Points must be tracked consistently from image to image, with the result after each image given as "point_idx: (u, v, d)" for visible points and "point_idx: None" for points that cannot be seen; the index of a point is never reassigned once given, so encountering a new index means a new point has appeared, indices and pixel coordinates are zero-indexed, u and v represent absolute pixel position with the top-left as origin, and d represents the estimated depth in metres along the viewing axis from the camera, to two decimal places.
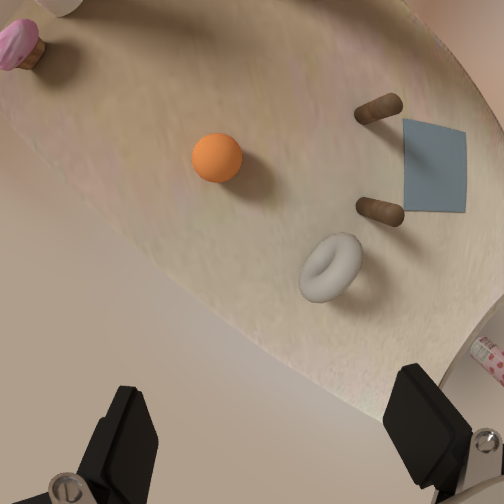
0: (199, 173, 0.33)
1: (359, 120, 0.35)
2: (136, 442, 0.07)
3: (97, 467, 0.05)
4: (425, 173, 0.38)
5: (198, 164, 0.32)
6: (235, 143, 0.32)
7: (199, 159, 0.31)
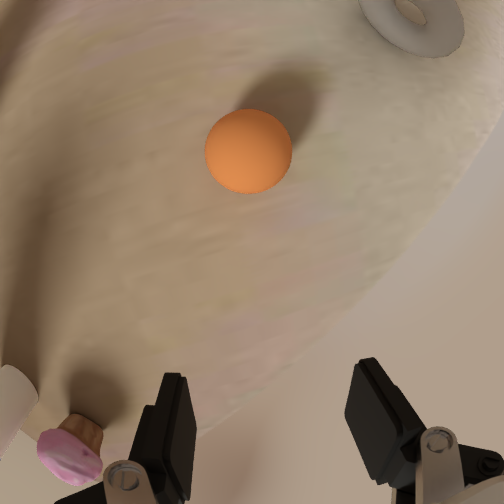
0: (277, 179, 0.19)
1: None
2: (184, 426, 0.08)
3: (155, 451, 0.06)
4: None
5: (262, 180, 0.18)
6: (225, 117, 0.18)
7: (253, 177, 0.18)
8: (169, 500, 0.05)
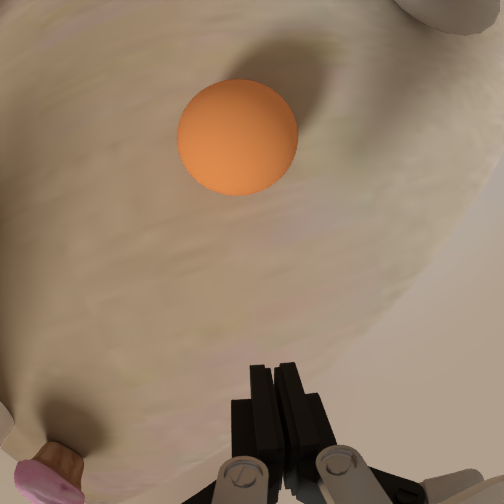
0: (278, 175, 0.13)
1: None
2: None
3: (270, 441, 0.06)
4: None
5: (257, 176, 0.12)
6: (204, 90, 0.12)
7: (244, 172, 0.12)
8: (278, 490, 0.06)
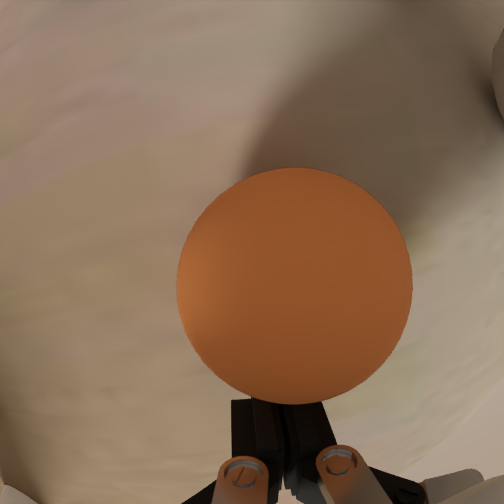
0: (398, 232, 0.06)
1: None
2: None
3: (270, 441, 0.06)
4: None
5: (356, 189, 0.06)
6: None
7: (329, 176, 0.06)
8: (278, 490, 0.06)
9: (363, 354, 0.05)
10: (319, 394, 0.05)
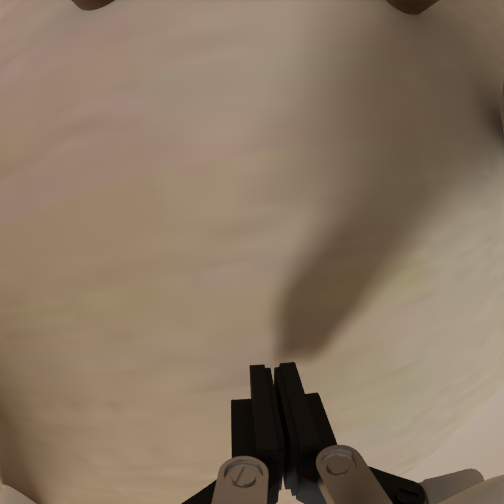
0: None
1: None
2: None
3: (270, 441, 0.06)
4: None
5: None
6: None
7: None
8: (278, 490, 0.06)
9: None
10: None
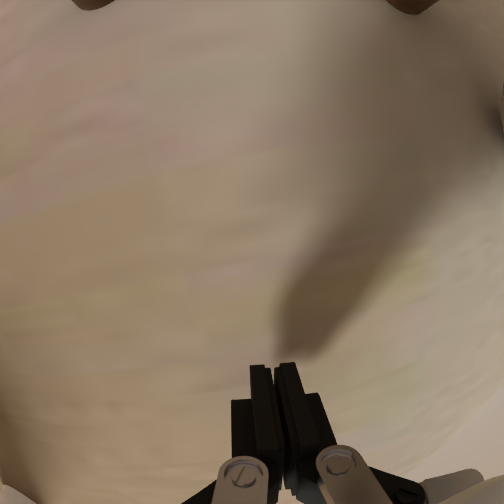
0: None
1: None
2: None
3: (270, 441, 0.06)
4: None
5: None
6: None
7: None
8: (278, 490, 0.06)
9: None
10: None
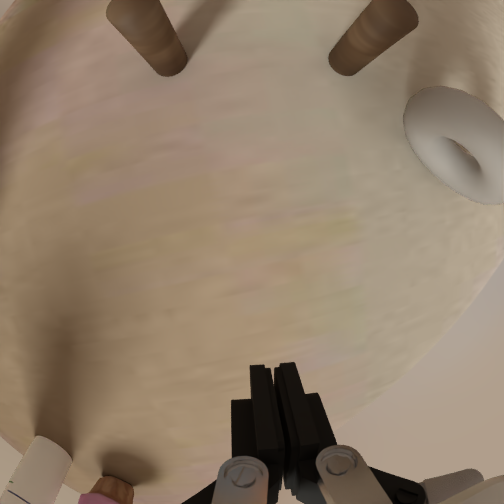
0: None
1: (179, 66, 0.17)
2: None
3: (270, 441, 0.06)
4: None
5: None
6: None
7: None
8: (278, 490, 0.06)
9: None
10: None
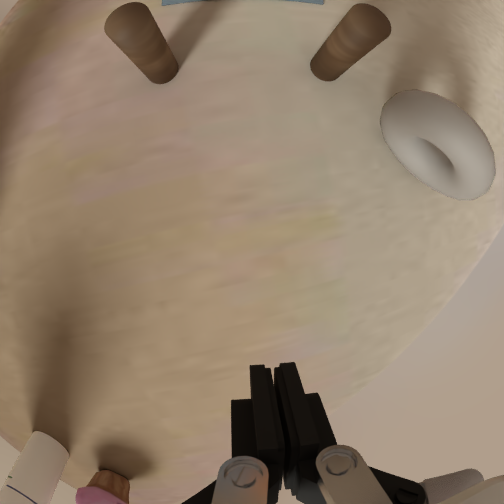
0: None
1: (171, 74, 0.19)
2: None
3: (270, 441, 0.06)
4: None
5: None
6: None
7: None
8: (278, 490, 0.06)
9: None
10: None
